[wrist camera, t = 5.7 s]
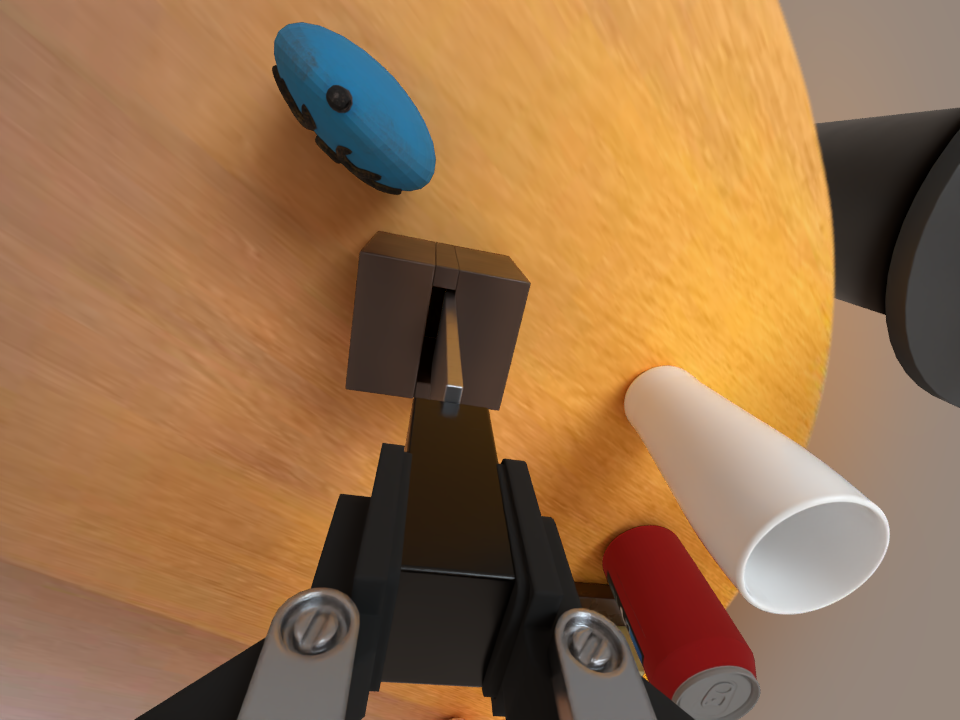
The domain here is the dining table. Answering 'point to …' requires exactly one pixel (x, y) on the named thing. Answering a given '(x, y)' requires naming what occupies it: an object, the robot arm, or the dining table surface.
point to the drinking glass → (757, 496)
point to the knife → (450, 534)
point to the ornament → (353, 108)
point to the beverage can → (680, 626)
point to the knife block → (404, 309)
